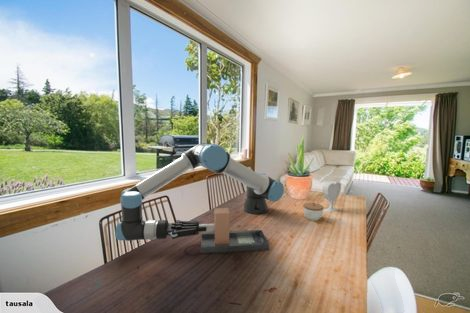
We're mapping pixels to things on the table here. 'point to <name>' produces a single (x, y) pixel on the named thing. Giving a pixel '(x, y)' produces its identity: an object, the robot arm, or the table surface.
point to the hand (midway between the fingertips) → (214, 227)
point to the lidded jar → (313, 211)
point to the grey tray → (235, 242)
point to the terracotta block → (221, 226)
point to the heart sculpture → (331, 194)
